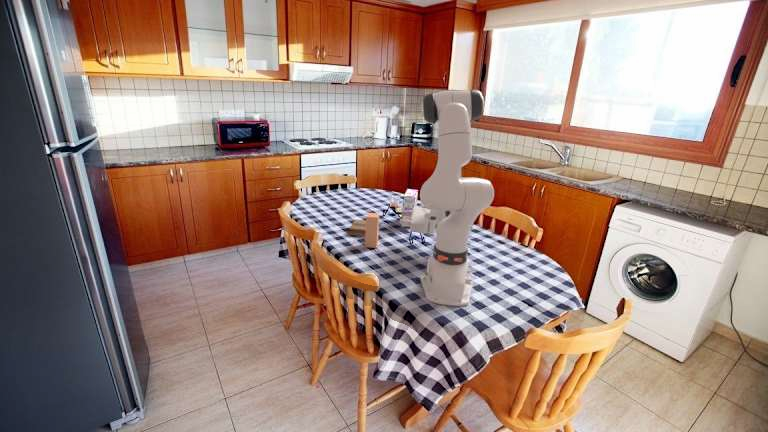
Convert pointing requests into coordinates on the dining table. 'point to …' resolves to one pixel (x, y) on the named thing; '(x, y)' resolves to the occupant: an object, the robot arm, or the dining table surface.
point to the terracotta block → (372, 230)
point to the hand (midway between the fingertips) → (400, 217)
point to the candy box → (409, 203)
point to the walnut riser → (358, 228)
